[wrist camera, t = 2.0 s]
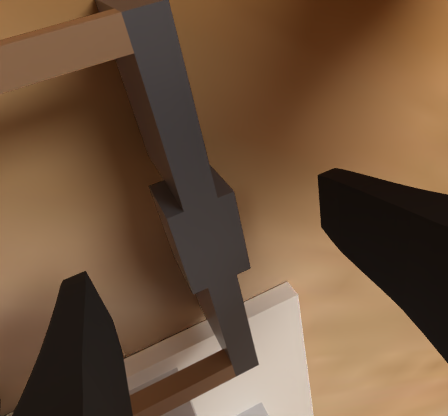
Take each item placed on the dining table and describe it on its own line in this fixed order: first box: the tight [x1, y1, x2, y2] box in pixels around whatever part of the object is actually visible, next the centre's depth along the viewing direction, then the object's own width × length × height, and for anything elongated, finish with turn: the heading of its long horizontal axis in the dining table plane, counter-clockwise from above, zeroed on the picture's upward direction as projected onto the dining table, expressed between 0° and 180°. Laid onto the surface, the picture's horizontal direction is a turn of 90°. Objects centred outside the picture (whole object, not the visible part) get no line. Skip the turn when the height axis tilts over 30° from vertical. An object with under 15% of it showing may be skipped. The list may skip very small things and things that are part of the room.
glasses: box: [0, 0, 259, 416], centre depth 12 cm, size 12×13×4 cm
